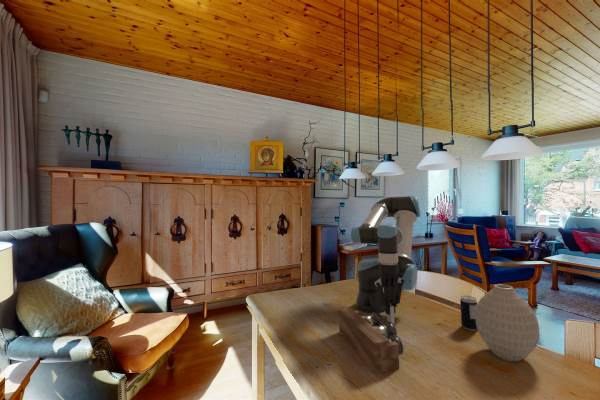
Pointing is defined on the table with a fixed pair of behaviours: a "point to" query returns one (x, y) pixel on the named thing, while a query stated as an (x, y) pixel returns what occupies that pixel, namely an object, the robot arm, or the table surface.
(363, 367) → the table surface
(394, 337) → the knob
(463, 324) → the beverage can
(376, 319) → the knob
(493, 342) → the vase
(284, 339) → the table surface
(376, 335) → the wooden rack
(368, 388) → the table surface
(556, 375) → the table surface
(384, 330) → the knob
